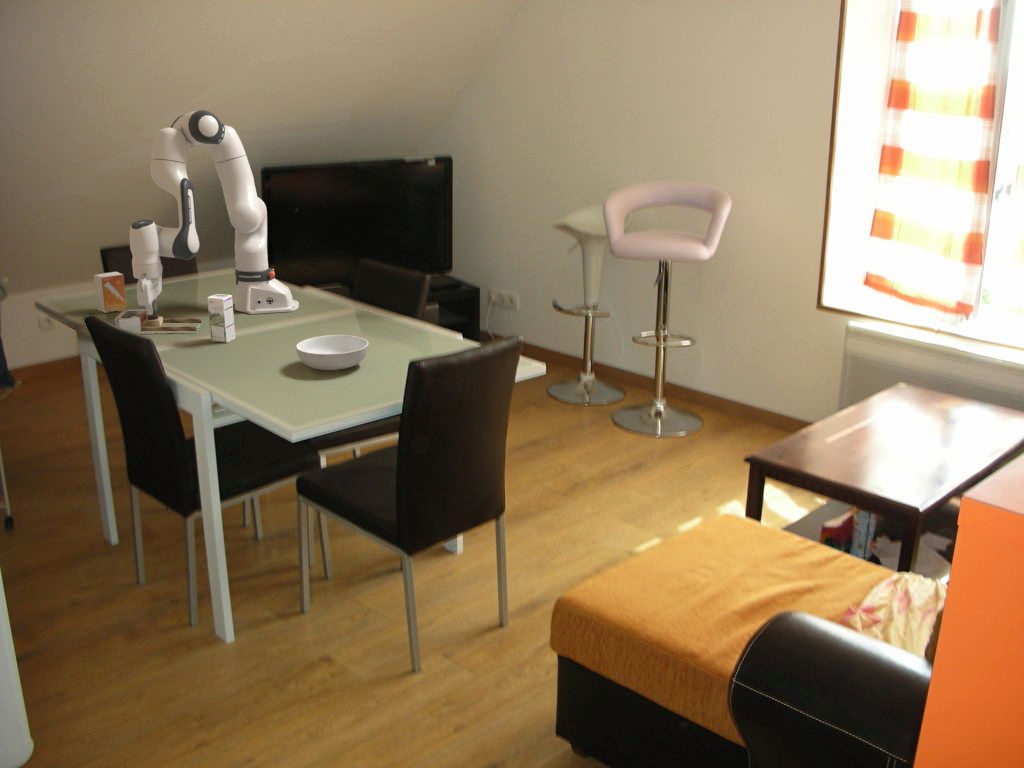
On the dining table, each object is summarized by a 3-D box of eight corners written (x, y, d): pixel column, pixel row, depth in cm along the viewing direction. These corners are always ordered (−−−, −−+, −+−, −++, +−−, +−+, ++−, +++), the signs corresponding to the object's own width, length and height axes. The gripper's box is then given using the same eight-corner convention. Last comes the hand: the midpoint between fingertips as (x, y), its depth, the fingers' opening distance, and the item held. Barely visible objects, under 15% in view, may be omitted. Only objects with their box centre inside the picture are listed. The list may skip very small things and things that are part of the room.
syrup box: (236, 338, 334) (232, 294, 330) (226, 343, 329) (222, 298, 324) (220, 337, 336) (216, 292, 331) (210, 341, 330) (206, 297, 326)
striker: (164, 324, 349) (161, 298, 346) (159, 330, 341) (156, 303, 339) (144, 324, 348) (142, 298, 345) (139, 330, 341) (136, 303, 338)
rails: (202, 322, 352) (201, 318, 351) (196, 331, 341) (196, 326, 341) (146, 323, 350) (146, 319, 349) (139, 332, 339) (139, 327, 339)
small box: (105, 314, 362) (100, 277, 358) (97, 310, 367) (93, 274, 363) (127, 310, 368) (123, 274, 364) (119, 307, 372) (115, 271, 368)
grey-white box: (149, 323, 351) (148, 309, 349) (141, 334, 338) (139, 319, 337) (125, 324, 350) (123, 309, 348) (115, 334, 338) (114, 319, 336)
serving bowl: (336, 352, 321) (335, 330, 319) (383, 365, 309) (383, 342, 306) (282, 367, 306) (280, 344, 304) (330, 381, 293) (328, 358, 291)
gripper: (150, 277, 329) (155, 320, 334) (163, 264, 349) (167, 305, 353) (129, 278, 329) (134, 320, 333) (144, 265, 348) (148, 305, 352)
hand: (151, 312), depth 343 cm, fingers closed on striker, 3 cm apart
